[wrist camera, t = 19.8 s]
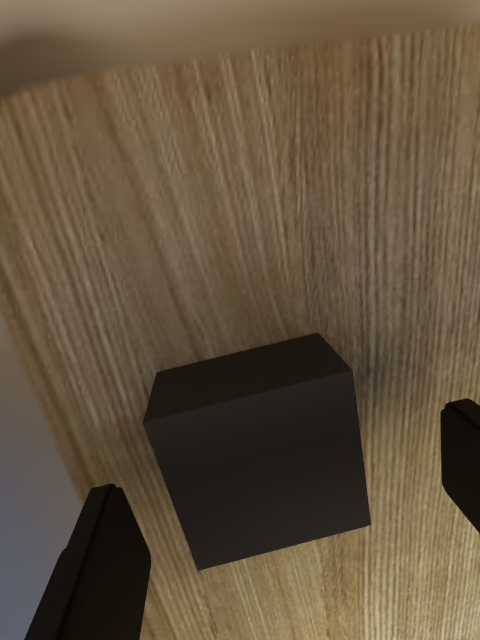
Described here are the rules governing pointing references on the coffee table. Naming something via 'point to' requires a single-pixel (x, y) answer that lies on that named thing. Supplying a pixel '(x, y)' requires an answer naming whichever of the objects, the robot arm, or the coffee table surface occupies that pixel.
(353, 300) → the coffee table surface
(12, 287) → the coffee table surface
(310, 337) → the black rectangular block
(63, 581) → the robot arm
